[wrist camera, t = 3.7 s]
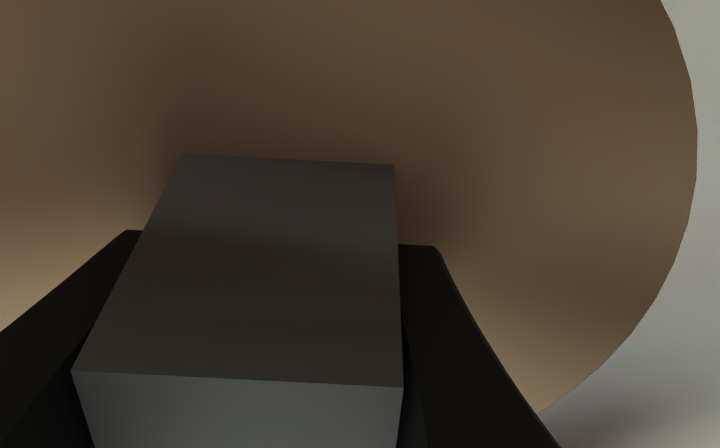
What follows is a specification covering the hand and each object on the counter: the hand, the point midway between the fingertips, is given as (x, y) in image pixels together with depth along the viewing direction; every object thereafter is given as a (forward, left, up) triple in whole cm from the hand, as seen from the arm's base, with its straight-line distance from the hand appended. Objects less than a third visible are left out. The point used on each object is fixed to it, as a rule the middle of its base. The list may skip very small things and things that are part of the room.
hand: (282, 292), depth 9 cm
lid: (0, 0, -2) cm, 2 cm away
